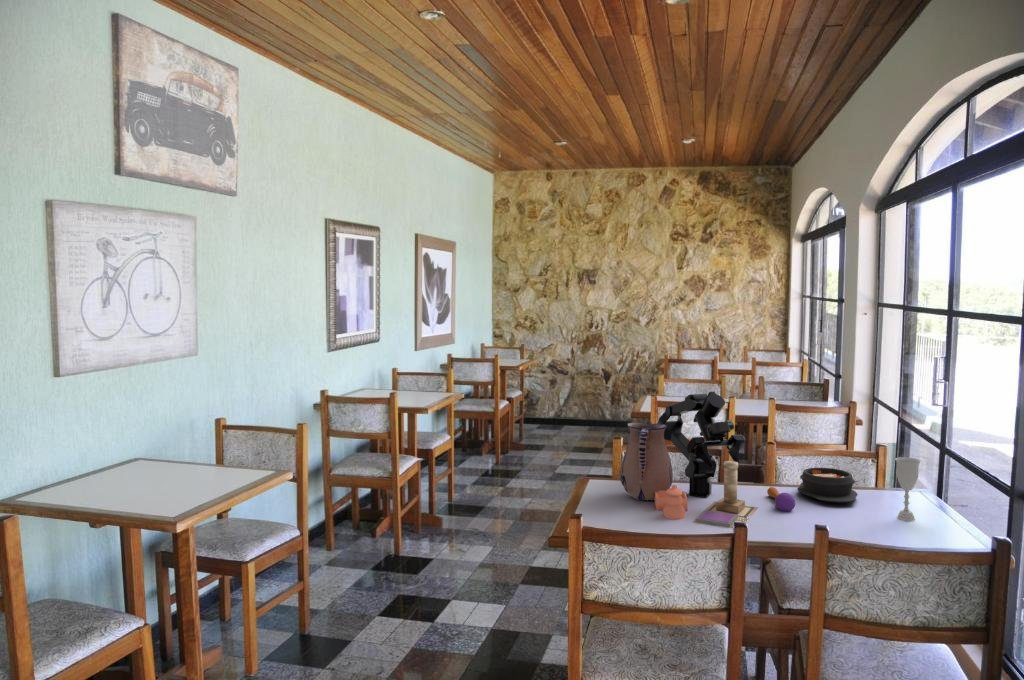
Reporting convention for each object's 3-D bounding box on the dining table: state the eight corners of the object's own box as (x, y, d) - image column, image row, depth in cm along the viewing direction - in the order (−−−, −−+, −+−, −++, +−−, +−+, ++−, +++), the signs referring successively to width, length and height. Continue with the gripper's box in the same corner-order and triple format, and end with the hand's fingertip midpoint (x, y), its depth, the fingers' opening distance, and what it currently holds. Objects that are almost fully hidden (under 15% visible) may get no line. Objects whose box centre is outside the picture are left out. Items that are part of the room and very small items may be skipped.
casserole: (788, 486, 259) (788, 463, 258) (842, 487, 257) (843, 464, 256) (809, 507, 234) (809, 481, 233) (870, 508, 232) (870, 482, 232)
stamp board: (692, 523, 218) (692, 521, 218) (714, 502, 240) (714, 500, 240) (739, 530, 211) (739, 528, 211) (758, 508, 233) (758, 506, 233)
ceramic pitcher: (670, 491, 254) (670, 419, 252) (676, 508, 233) (676, 431, 231) (619, 489, 256) (619, 419, 254) (620, 507, 235) (620, 430, 234)
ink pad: (695, 521, 218) (696, 518, 218) (705, 513, 227) (705, 509, 227) (729, 527, 213) (729, 523, 213) (738, 518, 222) (738, 514, 222)
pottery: (654, 502, 239) (654, 473, 239) (684, 503, 238) (684, 474, 238) (658, 519, 221) (659, 488, 221) (690, 520, 220) (691, 488, 220)
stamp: (715, 510, 229) (716, 463, 228) (722, 505, 235) (723, 459, 234) (738, 514, 225) (738, 466, 225) (744, 508, 231) (745, 461, 230)
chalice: (896, 513, 226) (898, 456, 225) (921, 517, 222) (922, 459, 221) (890, 519, 221) (892, 460, 219) (916, 523, 216) (917, 463, 215)
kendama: (782, 485, 246) (799, 496, 226) (779, 502, 246) (795, 515, 227) (764, 481, 247) (779, 492, 227) (761, 498, 247) (776, 511, 227)
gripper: (691, 412, 234) (708, 453, 224) (742, 410, 239) (762, 450, 229) (679, 432, 242) (695, 473, 232) (729, 429, 247) (747, 469, 237)
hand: (725, 466), depth 233 cm, fingers open, 9 cm apart
